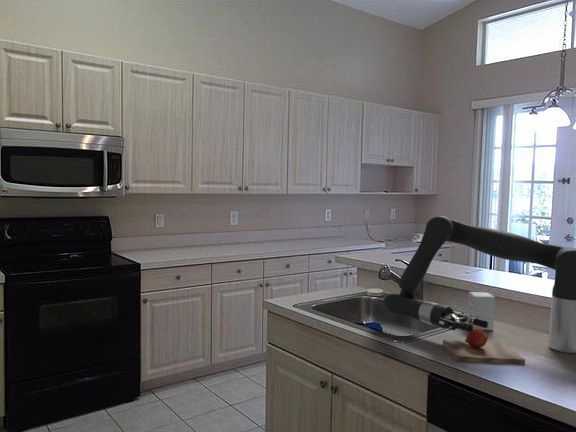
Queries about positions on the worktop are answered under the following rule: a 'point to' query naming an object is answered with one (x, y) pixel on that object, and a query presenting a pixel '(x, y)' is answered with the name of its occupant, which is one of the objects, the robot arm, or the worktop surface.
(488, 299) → the supplement box
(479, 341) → the onion
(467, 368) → the worktop surface
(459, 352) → the cutting board
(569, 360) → the worktop surface
